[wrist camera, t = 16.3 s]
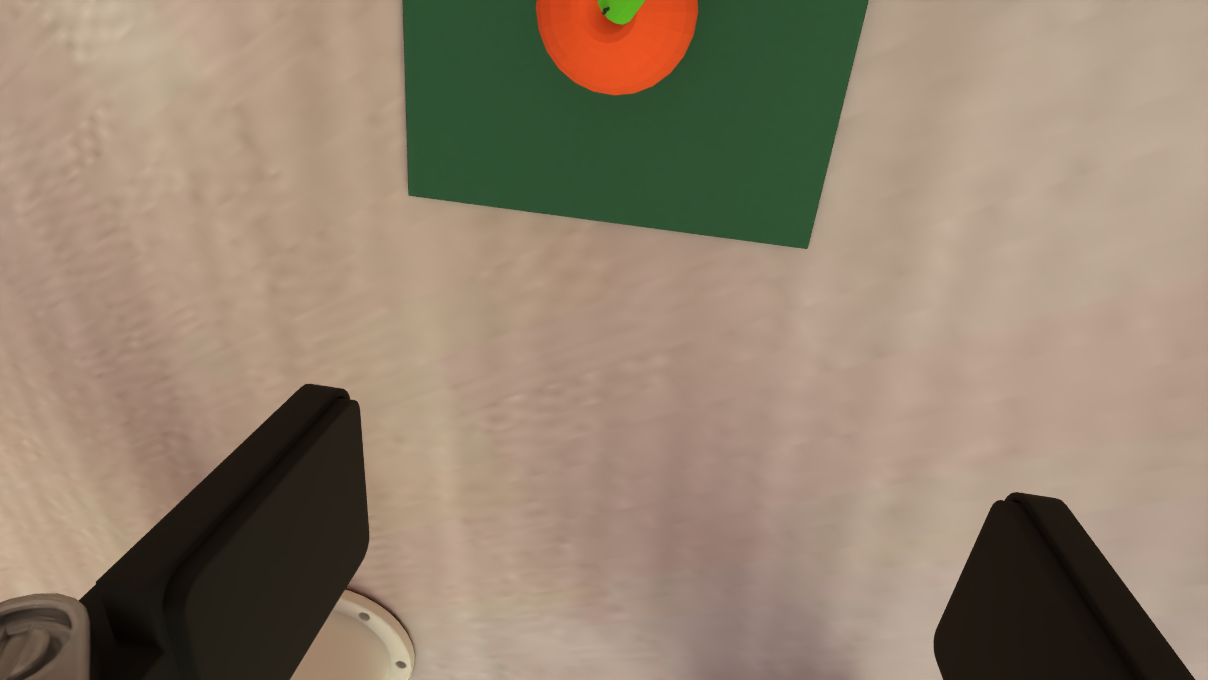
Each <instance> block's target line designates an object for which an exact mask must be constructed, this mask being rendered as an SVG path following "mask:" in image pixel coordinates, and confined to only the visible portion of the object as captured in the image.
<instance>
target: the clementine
mask: <svg viewBox="0 0 1208 680" xmlns="http://www.w3.org/2000/svg"><path fill="white" fill-rule="evenodd" d="M536 12H537V20H538V28H539V32H540V35H541V37H542V40H543V43H544V45H545V48H546V50H547V52H548V54H549V55H550V57H551V58H552V59H553V61H554V62H555V64H556V65H557V67H558V68H559V69H560V70H561V71H562V72H563V73H564V74H565V75H567V76H568V77H569V78H570V79H571V80H572V81H573V82H575V83H577V84H579V85H581V86H583V87H585V88H587V89H589V90H591V91H594V92H599V93H604V94H610V95H622V94H633V93H636V92H639V91H641V90H644V89H647V88H649V87H652V86H654V85H655V84H656V83H658V82H659V81H661V80H662V79H663V78H665V77H666V76H667V75H669V74H670V73H671V72H672V70H673V69H674V68H675V67H676V65H677V64H678V63H679V62H680V61H681V59H682V58H683V57H684V55H685V53H686V51H687V49H688V46H689V44H690V42H691V40H692V38H693V36H694V31H695V26H696V20H697V15H698V0H537V2H536Z"/></svg>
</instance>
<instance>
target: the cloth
mask: <svg viewBox="0 0 1208 680" xmlns="http://www.w3.org/2000/svg"><path fill="white" fill-rule="evenodd" d="M536 2H537V0H403V28H404V60H405V93H406V125H407V157H408V190H409V196H416V197H424V198H431V199H439V200H446V201H454V202H461V203H468V204H476V205H483V206H491V207H498V208H506V209H513V210H521V211H528V212H536V213H543V214H551V215H558V216H565V217H573V218H580V219H588V220H595V221H603V222H610V223H618V224H625V225H633V226H640V227H648V228H655V229H662V230H670V231H677V232H685V233H692V234H700V235H707V236H715V237H722V238H730V239H737V240H744V241H752V242H759V243H767V244H774V245H782V246H789V247H797V248H804V249H807V248H808V245H809V241H810V237H811V233H812V229H813V225H814V220H815V216H816V212H817V208H818V204H819V200H820V196H821V192H822V188H823V184H824V180H825V176H826V172H827V167H828V163H829V159H830V155H831V151H832V147H833V143H834V139H835V135H836V131H837V127H838V123H839V119H840V114H841V110H842V106H843V102H844V98H845V94H846V90H847V86H848V82H849V78H850V74H851V70H852V66H853V61H854V57H855V53H856V49H857V45H858V41H859V37H860V33H861V29H862V25H863V21H864V17H865V13H866V8H867V4H868V0H698V15H697V20H696V26H695V31H694V36H693V38H692V40H691V42H690V44H689V46H688V49H687V51H686V53H685V55H684V57H683V58H682V59H681V61H680V62H679V63H678V64H677V65H676V67H675V68H674V69H673V70H672V72H671V73H670V74H669V75H667V76H666V77H665V78H663V79H662V80H661V81H659V82H658V83H656V84H655V85H654V86H652V87H649V88H647V89H644V90H641V91H639V92H636V93H633V94H622V95H610V94H604V93H599V92H594V91H591V90H589V89H587V88H585V87H583V86H581V85H579V84H577V83H575V82H573V81H572V80H571V79H570V78H569V77H568V76H567V75H565V74H564V73H563V72H562V71H561V70H560V69H559V68H558V67H557V65H556V64H555V62H554V61H553V59H552V58H551V57H550V55H549V54H548V52H547V50H546V48H545V45H544V43H543V40H542V37H541V35H540V32H539V28H538V20H537V12H536Z"/></svg>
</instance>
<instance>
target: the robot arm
mask: <svg viewBox="0 0 1208 680" xmlns="http://www.w3.org/2000/svg"><path fill="white" fill-rule="evenodd" d="M368 544H369V523H368V510H367V497H366V483H365V470H364V457H363V443H362V430H361V417H360V407H359V404H358V402H357V401H355V400H350V397H349V394H348V392H347V391H346V390H345V389H341V388H334V387H328V386H321V385H315V384H305V385H304V386H302V387H301V388H300V389H299V390H298V391H296V392H295V393H294V394H293V395H292V396H291V397H290V398H289V399H288V400H287V401H286V402H285V403H284V404H283V405H282V406H281V407H280V408H279V409H277V410H276V411H275V412H274V413H273V414H272V415H271V416H270V417H269V418H268V419H267V420H266V421H265V422H264V423H263V424H262V425H261V426H260V427H259V428H257V429H256V430H255V431H254V432H253V433H252V434H251V435H250V436H249V437H248V438H247V439H246V440H245V441H244V442H243V443H242V444H241V445H240V446H239V447H237V448H236V449H235V450H234V451H233V452H232V453H231V454H230V455H229V456H228V457H227V458H226V459H225V460H224V461H223V462H222V463H221V464H220V465H218V466H217V467H216V468H215V469H214V470H213V471H212V472H211V473H210V474H209V475H208V476H207V477H206V478H205V479H204V480H203V481H202V482H201V483H200V484H198V485H197V486H196V487H195V488H194V489H193V490H192V491H191V492H190V493H189V494H188V495H187V496H186V497H185V498H184V499H183V500H182V501H181V502H180V503H178V504H177V505H176V506H175V507H174V508H173V509H172V510H171V511H170V512H169V513H168V514H167V515H166V516H165V517H164V518H163V519H162V520H161V521H159V522H158V523H157V524H156V525H155V526H154V527H153V528H152V529H151V530H150V531H149V532H148V533H147V534H146V535H145V536H144V537H143V538H142V539H141V540H139V541H138V542H137V543H136V544H135V545H134V546H133V547H132V548H131V549H130V550H129V551H128V552H127V553H126V554H125V555H124V556H123V557H122V558H121V559H119V560H118V561H117V562H116V563H115V564H114V565H113V566H112V567H111V568H110V569H109V570H108V571H107V572H106V573H105V574H104V575H103V576H102V577H100V578H99V579H98V580H97V581H96V585H95V586H94V587H93V588H91V589H90V590H89V591H88V592H87V593H86V594H85V595H84V596H83V597H82V598H81V599H80V600H79V601H78V600H77V599H75V598H72V597H69V596H65V595H61V594H32V595H27V596H22V597H17V598H12V599H9V600H6V601H3V602H1V603H0V680H408V679H409V677H410V675H411V673H412V670H413V667H414V660H415V654H414V649H413V645H412V642H411V640H410V638H409V636H408V634H407V632H406V631H405V630H404V628H403V627H402V626H401V624H400V623H399V622H398V621H397V620H396V619H395V618H394V617H393V616H392V615H391V614H390V613H389V612H388V611H386V610H385V609H384V608H382V607H381V606H380V605H378V604H377V603H375V602H373V601H371V600H370V599H368V598H366V597H364V596H362V595H359V594H357V593H354V592H351V591H349V590H345V589H346V587H347V585H348V584H349V582H350V581H351V579H352V577H353V576H354V574H355V572H356V571H357V569H358V567H359V566H360V564H361V563H362V561H363V559H364V557H365V554H366V552H367V548H368ZM934 654H935V658H936V661H937V664H938V667H939V669H940V672H941V675H942V678H943V680H1195V679H1194V677H1193V676H1192V675H1191V673H1190V672H1189V670H1188V669H1187V668H1186V666H1185V665H1184V664H1183V662H1182V661H1181V660H1180V658H1179V657H1178V656H1177V654H1176V653H1175V652H1174V650H1173V649H1172V647H1171V646H1170V645H1169V643H1168V642H1167V641H1166V639H1165V638H1164V637H1163V635H1162V634H1161V633H1160V631H1159V630H1158V629H1157V627H1156V626H1155V624H1154V623H1153V622H1152V620H1151V619H1150V618H1149V616H1148V615H1147V614H1146V612H1145V611H1144V610H1143V608H1142V607H1141V606H1140V604H1139V603H1138V601H1137V600H1136V599H1135V597H1134V596H1133V595H1132V593H1131V592H1130V591H1129V589H1128V588H1127V587H1126V585H1125V584H1124V583H1123V581H1122V580H1121V578H1120V577H1119V576H1118V574H1117V573H1116V572H1115V570H1114V569H1113V568H1112V566H1111V565H1110V564H1109V562H1108V561H1107V560H1106V558H1105V557H1104V555H1103V554H1102V553H1101V551H1100V550H1099V549H1098V547H1097V546H1096V545H1095V543H1094V542H1093V541H1092V539H1091V538H1090V537H1089V535H1088V534H1087V532H1086V531H1085V530H1084V528H1083V527H1082V526H1081V524H1080V523H1079V522H1078V520H1077V519H1076V518H1075V516H1074V515H1073V513H1072V512H1071V511H1070V509H1069V508H1068V507H1067V505H1066V504H1065V503H1064V502H1063V501H1062V500H1059V499H1056V498H1051V497H1045V496H1038V495H1031V494H1025V493H1018V492H1015V493H1011V494H1010V495H1009V496H1007V497H1006V499H1005V501H1003V500H999V501H996V502H995V503H994V504H993V505H992V507H991V509H990V511H989V513H988V516H987V518H986V520H985V522H984V524H983V527H982V529H981V531H980V533H979V535H978V538H977V540H976V542H975V544H974V547H973V549H972V551H971V553H970V555H969V558H968V560H967V562H966V564H965V567H964V569H963V571H962V573H961V575H960V578H959V580H958V582H957V584H956V587H955V589H954V591H953V593H952V595H951V598H950V600H949V602H948V604H947V607H946V609H945V611H944V613H943V615H942V618H941V620H940V622H939V624H938V627H937V629H936V632H935V635H934Z"/></svg>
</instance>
